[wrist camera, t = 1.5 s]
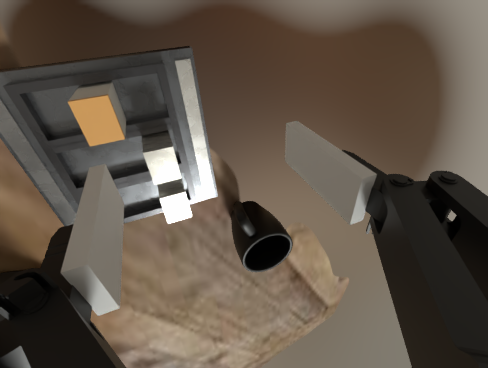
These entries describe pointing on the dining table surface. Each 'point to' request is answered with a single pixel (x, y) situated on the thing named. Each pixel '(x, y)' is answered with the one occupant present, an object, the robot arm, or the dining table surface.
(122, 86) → the panel
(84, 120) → the block
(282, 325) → the dining table surface
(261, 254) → the mug
